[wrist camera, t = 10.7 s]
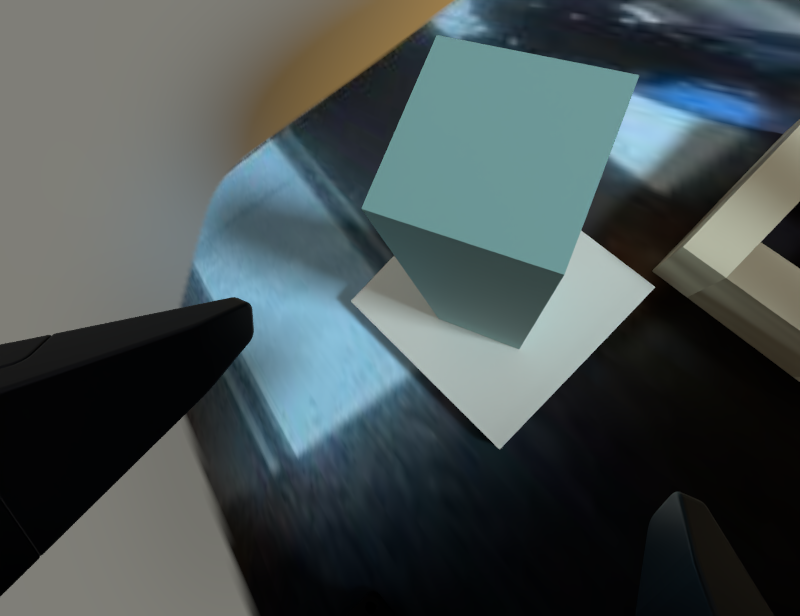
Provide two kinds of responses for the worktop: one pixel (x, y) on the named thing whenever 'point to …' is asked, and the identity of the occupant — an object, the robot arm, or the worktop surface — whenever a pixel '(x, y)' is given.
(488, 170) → the post
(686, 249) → the socket block
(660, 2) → the worktop surface
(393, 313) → the pad
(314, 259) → the worktop surface
